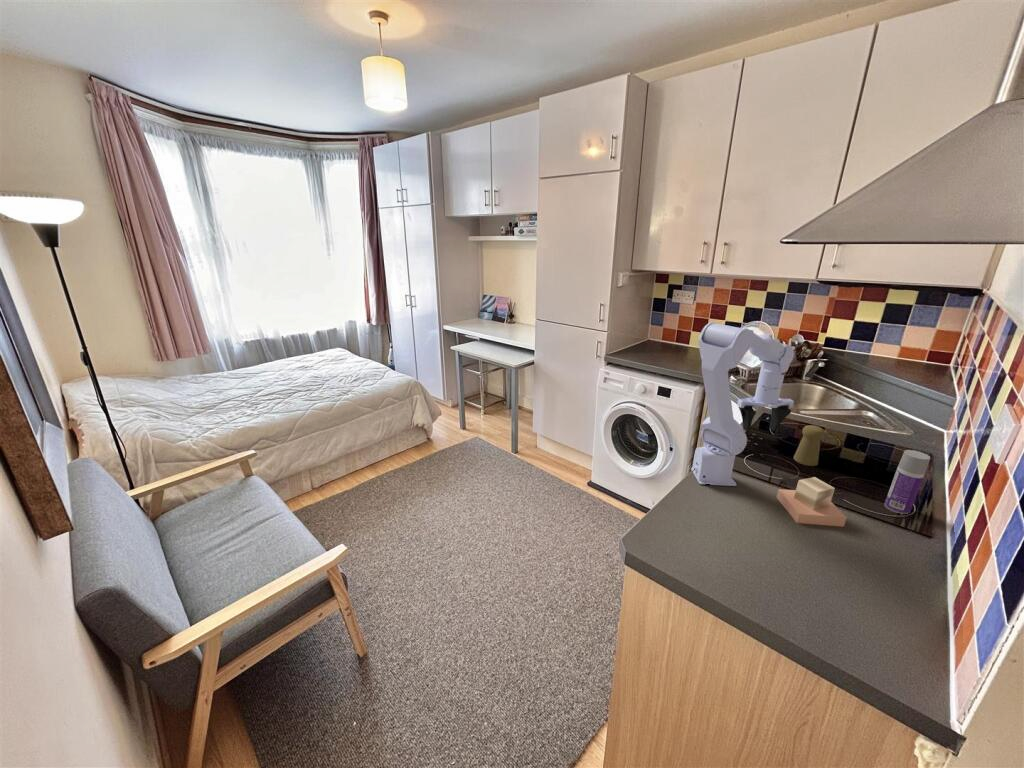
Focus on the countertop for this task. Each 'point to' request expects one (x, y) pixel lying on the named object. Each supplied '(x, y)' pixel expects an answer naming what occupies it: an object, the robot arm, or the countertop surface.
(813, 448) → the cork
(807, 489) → the beech cube
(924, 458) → the container
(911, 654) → the countertop surface
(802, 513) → the terracotta block
